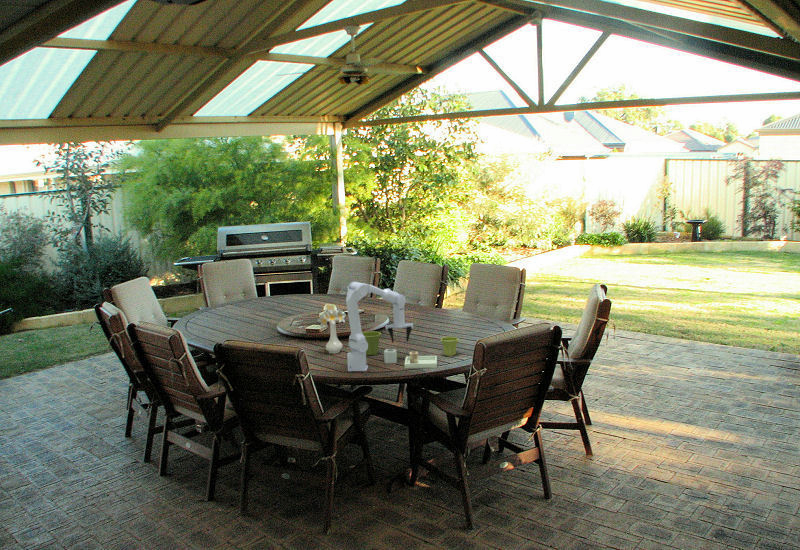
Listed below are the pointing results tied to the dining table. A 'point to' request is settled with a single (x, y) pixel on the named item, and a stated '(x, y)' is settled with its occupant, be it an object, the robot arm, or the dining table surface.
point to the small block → (413, 357)
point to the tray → (422, 362)
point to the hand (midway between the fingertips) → (400, 341)
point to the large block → (390, 355)
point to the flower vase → (332, 329)
